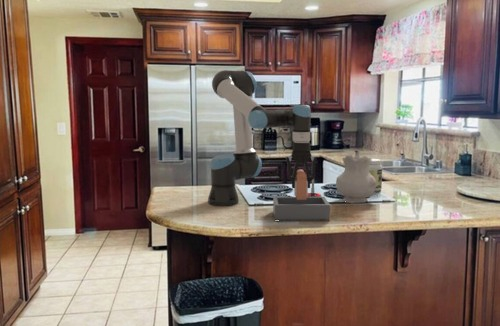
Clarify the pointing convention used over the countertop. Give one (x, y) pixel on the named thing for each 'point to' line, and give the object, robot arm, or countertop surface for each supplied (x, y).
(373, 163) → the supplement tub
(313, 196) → the tow hook
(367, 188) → the ceramic pitcher
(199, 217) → the countertop surface
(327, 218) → the open box
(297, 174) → the wooden peg
